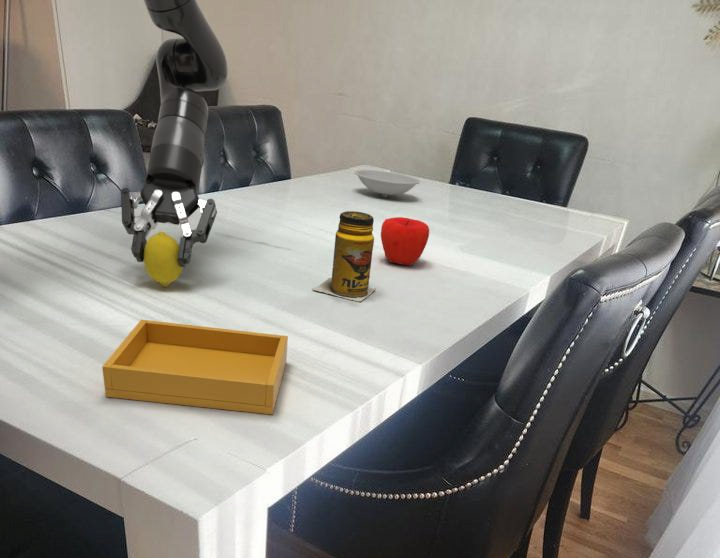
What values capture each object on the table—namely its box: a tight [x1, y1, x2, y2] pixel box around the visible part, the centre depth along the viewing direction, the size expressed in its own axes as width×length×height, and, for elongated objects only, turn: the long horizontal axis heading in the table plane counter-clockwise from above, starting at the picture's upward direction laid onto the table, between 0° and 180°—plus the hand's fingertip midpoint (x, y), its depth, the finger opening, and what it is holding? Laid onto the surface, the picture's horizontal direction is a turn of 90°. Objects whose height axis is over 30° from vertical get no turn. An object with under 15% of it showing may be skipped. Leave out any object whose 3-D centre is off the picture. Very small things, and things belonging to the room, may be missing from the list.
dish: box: [354, 169, 421, 198], centre depth 172 cm, size 18×14×5 cm
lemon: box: [143, 231, 183, 288], centre depth 95 cm, size 6×6×8 cm
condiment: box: [311, 210, 377, 302], centre depth 102 cm, size 7×8×12 cm
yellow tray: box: [101, 319, 289, 415], centre depth 73 cm, size 18×14×4 cm
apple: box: [380, 216, 430, 266], centre depth 120 cm, size 9×9×8 cm
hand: (160, 261), depth 94 cm, fingers closed on lemon, 5 cm apart
